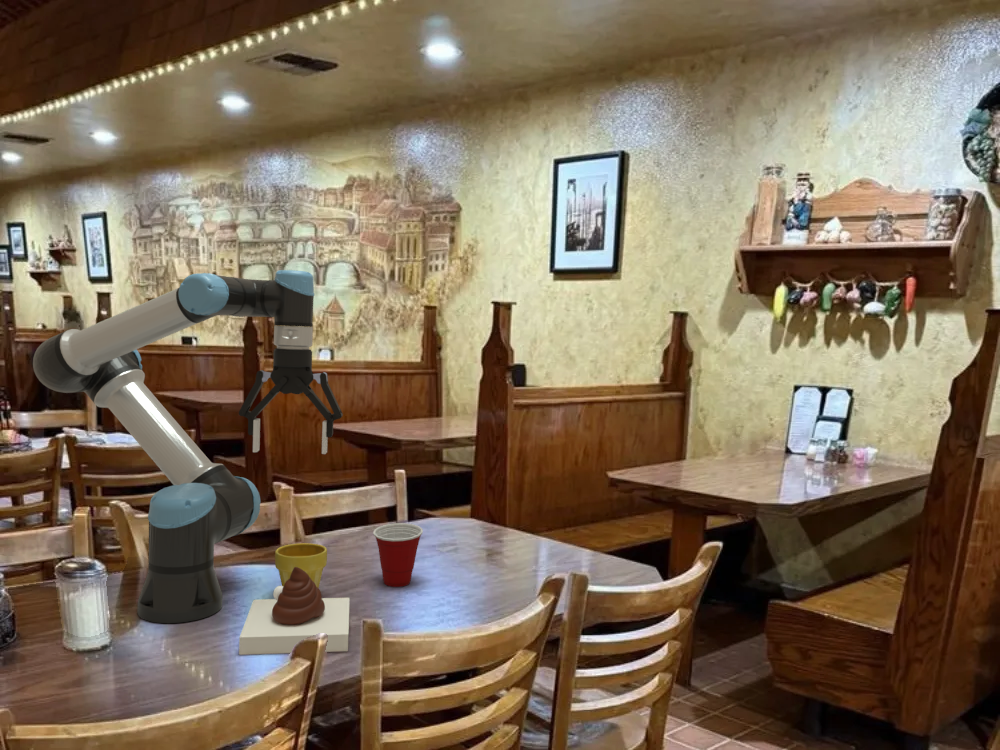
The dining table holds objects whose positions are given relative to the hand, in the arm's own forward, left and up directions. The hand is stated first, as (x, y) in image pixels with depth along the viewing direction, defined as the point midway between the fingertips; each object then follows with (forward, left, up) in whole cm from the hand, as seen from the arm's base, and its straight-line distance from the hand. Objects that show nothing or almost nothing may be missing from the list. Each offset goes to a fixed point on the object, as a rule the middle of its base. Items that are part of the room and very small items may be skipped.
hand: (290, 452), depth 157 cm
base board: (+4, -19, -30) cm, 36 cm away
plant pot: (+3, 0, -30) cm, 30 cm away
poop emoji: (+4, -19, -27) cm, 33 cm away
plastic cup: (+23, +7, -30) cm, 38 cm away
